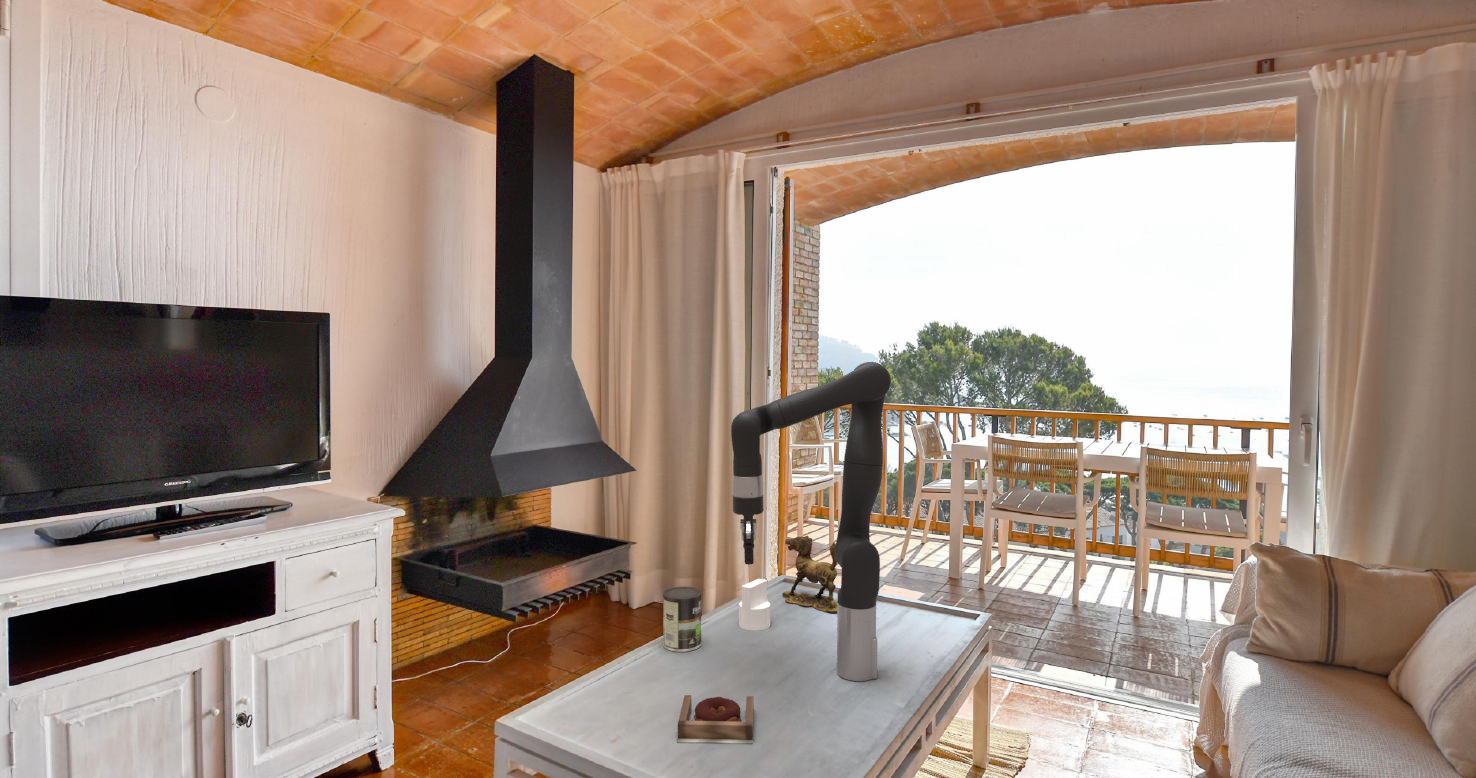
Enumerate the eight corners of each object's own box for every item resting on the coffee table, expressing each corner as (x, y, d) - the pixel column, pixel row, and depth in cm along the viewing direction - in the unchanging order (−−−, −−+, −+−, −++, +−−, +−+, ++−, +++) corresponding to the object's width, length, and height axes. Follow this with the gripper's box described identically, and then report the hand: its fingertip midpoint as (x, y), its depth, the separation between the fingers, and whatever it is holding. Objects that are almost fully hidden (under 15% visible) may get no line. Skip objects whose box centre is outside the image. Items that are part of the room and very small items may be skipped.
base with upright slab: (750, 616, 214) (750, 576, 214) (776, 623, 209) (776, 581, 208) (732, 625, 207) (732, 584, 206) (758, 632, 202) (758, 590, 201)
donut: (696, 709, 158) (696, 691, 158) (741, 710, 158) (741, 692, 158) (691, 734, 148) (691, 714, 148) (739, 734, 148) (739, 715, 148)
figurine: (800, 589, 239) (800, 528, 238) (860, 609, 221) (860, 542, 220) (772, 597, 231) (772, 534, 230) (832, 619, 212) (832, 550, 211)
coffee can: (705, 638, 198) (705, 587, 197) (696, 653, 188) (695, 599, 187) (669, 635, 200) (669, 584, 199) (657, 650, 190) (657, 597, 189)
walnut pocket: (753, 709, 158) (753, 696, 158) (752, 743, 144) (752, 729, 144) (684, 708, 159) (684, 694, 158) (676, 742, 145) (676, 727, 145)
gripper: (763, 498, 171) (764, 571, 172) (762, 488, 184) (763, 555, 185) (731, 498, 171) (733, 571, 172) (733, 488, 184) (734, 556, 185)
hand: (749, 563), depth 178 cm, fingers closed
